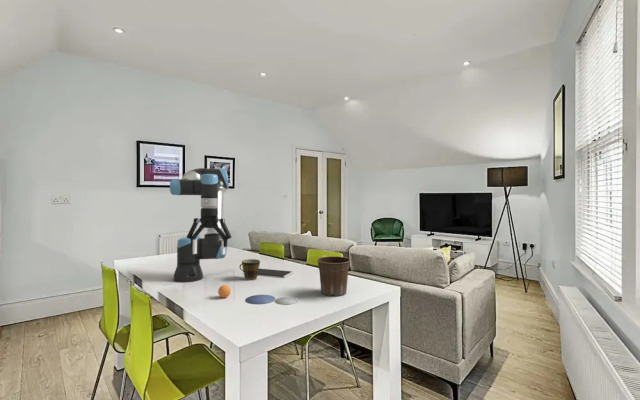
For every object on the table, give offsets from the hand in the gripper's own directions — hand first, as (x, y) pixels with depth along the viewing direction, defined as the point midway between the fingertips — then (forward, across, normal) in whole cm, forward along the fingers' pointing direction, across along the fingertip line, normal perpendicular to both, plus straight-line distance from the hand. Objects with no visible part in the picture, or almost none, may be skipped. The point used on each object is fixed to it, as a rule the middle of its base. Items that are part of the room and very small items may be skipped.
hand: (209, 254), depth 152 cm
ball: (+17, +8, -1) cm, 18 cm away
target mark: (+20, +25, -2) cm, 32 cm away
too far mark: (+20, +37, -2) cm, 42 cm away
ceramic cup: (+19, +9, +32) cm, 38 cm away
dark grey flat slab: (+19, +17, +47) cm, 53 cm away
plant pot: (+20, +57, +12) cm, 61 cm away
